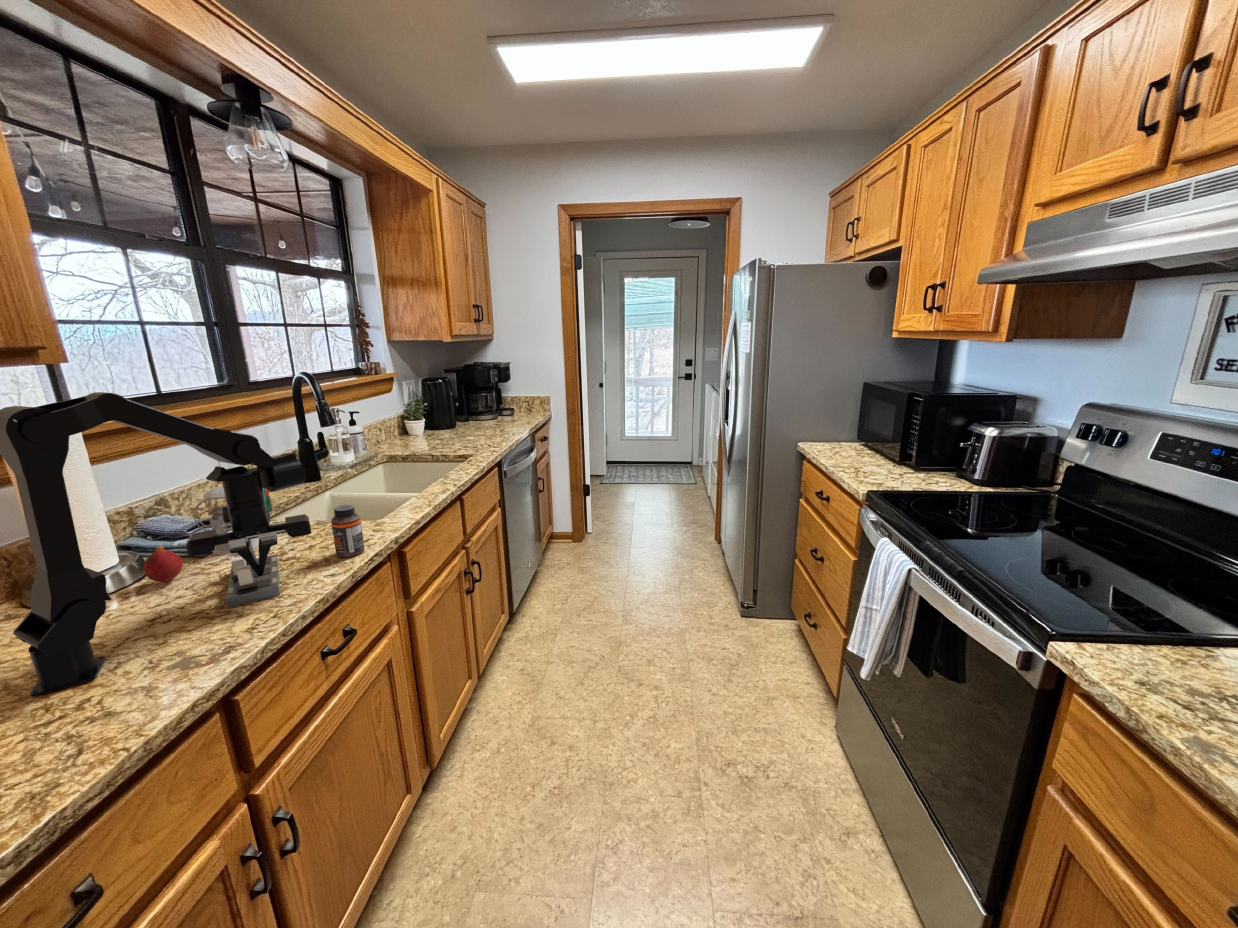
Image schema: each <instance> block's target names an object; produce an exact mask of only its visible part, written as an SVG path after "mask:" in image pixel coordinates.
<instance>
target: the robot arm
mask: <svg viewBox="0 0 1238 928" xmlns="http://www.w3.org/2000/svg"><path fill="white" fill-rule="evenodd" d="M108 422H113V423H116V424H120V425H121V426H122V425H123V426H125V427H129V428H133V429H135V430H138V431H141V432H146V433H149V434H151V435H155V436H158V437H162V438H165V439H168V440H171V441H174V442H176V443H177V442H178V443H181V444H184V445H186V446H189V447H191V448H193V449H194V450H196V451H197V452H199V453H201V454H203V455H204V456H207V457H208V458H210V459H213V460H215V461H216V462H218V461H219V462H220V463H226V464H232V465H237V466H235V467H230V468H225V467H223V466H220V467H219V465H216V466H215V467H214V469H213V470H212V471H211V472H210V473H209V474H207V476H206V478H205V479H206V480H207V481H210V482H211V481H212V482H216V483H222V485H223V489H224V494H225V498H224V499H225V501H226V503H225V504H226V505H227V507H222V511H223V518H222V520H224V523H231V526H230V528H231V527H232V531H229V532H227V533H224V534H217V531H216V529H215V530H212V529H208V530H209V531H208V530H204V531H198V532H192V533H191V534H190V536H189V537H188V540H186V541H187V542H186V544H185V545H186V551H187V556H188V557H189V558H191V557H192V558H194V557H199V556H204V555H209V554H212V553H211V552H212V551H213V550H214V549H215V545H221V544H226V543H228V544H229V545H230V553H238V554H239V555H240V556H241V557H242V558H243V559H244V560H245V561H246V562H247V563H248V564H249V565H250V566H251V568H252V569H253V570H254V571H255V573H256V574H257V575H258V576H263V574H264V569H265V564H266V559H267V556H269V553H270V550H271V547H273V546H277V545H278V535H281V534H286V533H287V536H289V537H291V538H292V539H293V538H294V539H295V538H298V537H303V536H308V535H310V534H312V528H311V523H310V518H309V515H306V514H305V513H304V514H298V515H292V516H287V517H285V519H284V520H285V522H282V523H277V524H271V518H270V514H269V513H268V510H267V508H266V504H265V498H264V494H263V488H266V489H267V490H268V491H269V493H274V492H278V491H281V490H285V489H289V488H292V487H298V486H300V485H303V484H304V483H305V482H306V479H307V472H306V469H305V468H304V467H303V464H302V462H301V461H300V460H298V459H297V454H296V453H294V452H284V453H282V454H280V455H275V456H271V455H270V454H268V452H266V451H265V450H264V449H263V448H261V444H260V442H259V439H258V438H257V437H256V436H254V435H252V434H248V433H244V432H239V431H234V430H233V431H232V430H228V429H222V428H221V429H220V428H216V427H212V426H211V427H209V426H205V425H203V424H199V423H197V422H193V421H190V420H188V419H185V418H183V417H179V416H176V415H173V414H170V413H168V412H165V411H162V410H159V409H157V408H153V407H150V406H148V405H146V404H142V403H139V402H137V401H133V400H131V399H128V398H126V397H124V396H123V395H120V394H117V393H113V392H103V391H102V392H101V391H97V392H92V393H88V394H87V395H83V396H79V397H76V398H75V397H74V398H71V399H64V400H61V401H56V402H51V403H46V404H42V405H38V406H35V407H32V406H24V405H23V406H22V405H12V406H5V407H3V408H0V456H1V457H2V459H3V460H4V461H5V462H6V465H8V467H9V468H10V470H11V471H12V473H13V474H14V477H15V480H16V485H17V486H16V487H17V489H18V494H19V498H20V502H21V507H22V511H23V515H24V519H25V524H26V528H27V532H28V536H29V540H30V541H29V542H30V544H31V548H32V553H33V557H34V562H35V565H36V566H35V567H36V573H35V577H34V579H33V583H32V586H31V596H30V597H31V598H30V612H29V613H28V614H27V615H26V616H25V617H24V619H22V620H21V622H20V623H19V625H17V627H16V628H15V629H14V630H13V631H12V634H13V636H15V637H16V638H18V639H19V640H20V641H21V642H23V643H27V644H28V645H30V646H29V647H28V653H29V656H30V658H31V661H32V664H33V667H34V670H35V672H36V673H35V674H36V676H37V678H38V679H37V680H38V681H37V683H36V684H35V685H34V687H33V688H32V689H31V691H30V693H29V696H30V697H31V698H34V697H38V696H41V695H42V696H43V695H45V694H48V693H49V694H50V693H52V692H53V693H54V692H56V691H60V690H63V689H67V688H70V687H74V686H77V685H82V684H86V683H89V682H92V681H94V680H96V679H97V676H98V675H99V673H100V671H101V669H102V667H103V665H104V663H105V661H106V659H107V657H106V656H105V655H100V656H97V657H95V653H94V651H93V647H92V644H91V641H92V640H93V639H94V637H95V630H96V627H97V622H98V621H99V620H100V618H101V617H102V616H103V615H105V613H106V610H107V602H106V601H108V602H109V601H112V597H111V596H110V595H109V594H108V592H107V577H106V574H103V573H101V572H98V571H97V570H93V569H91V568H88V567H86V566H84V564H83V560H82V555H81V551H80V546H79V542H78V541H79V540H78V537H77V533H76V528H75V523H74V518H73V514H72V509H71V506H70V499H69V495H68V492H67V486H66V482H65V481H66V480H65V477H64V467H65V464H66V462H67V461H66V460H67V457H68V455H69V451H70V450H69V449H70V436H73V435H77V434H81V433H84V432H87V431H89V430H91V429H93V428H96V427H98V426H100V425H103V424H106V423H108ZM239 465H240V466H239ZM249 465H250V466H256V467H252V468H247V467H245V466H249ZM243 535H244V536H243ZM253 538H257V539H259V545H258V557H257V556H256V553H255V551H254V548H253V547H252V543H251V539H253ZM257 558H259V563H258V561H257Z"/></svg>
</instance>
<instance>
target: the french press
mask: <svg viewBox="0 0 1238 928" xmlns="http://www.w3.org/2000/svg"><path fill="white" fill-rule="evenodd" d="M217 462H218V467H221V462H219V461H217ZM203 497H204V498H205V499H203V500H202V501H200V502H199V503H198V504H197V505H195V506H194V509H193V511H192V517H193V520H194V522H195V524H196V525H197V526H198V527H199V528H201V530H202V529H203V530H204V531H209V530H210V529H211V530H215V529H216V531H217V534H224V533H230V532H233V531H232V527H231V523H224V519H223V511H222V507H227V504H226V505H223V506H218V507H215V508H213V509H211V510H209V513H210V514H211V518H209V523H210V526H208V525H206V524H204V523H203V522H202V521H201V520H200V517H199V513H198V511H199V508H200V506H201V504H203V503H204V504H205V507H209V505H210V504H211V503H210V500H220V499H226V498H225V494H224V489H223V484H222V485H220V486H217V487H214V488H212V489H210V490H208V491H206V492H205V493H204V494H203ZM206 501H207V502H206ZM195 513H196V515H195ZM197 520H198V521H197ZM198 522H199V523H200V524H201V525H202V526H201V525H200V524H198ZM203 526H204V527H205V528H204V527H203ZM243 536H244V535H243ZM251 543H252V547H253V549H255V548H257V547H259V538H253V539H251ZM215 547H216V548H215V549H214V550H213V553H212V554H213V555H214V556H216V555H217V556H226V555H227V556H228V555H234V554H233V553H230V545H229V544H228V543H226V544H221V545H215Z"/></svg>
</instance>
